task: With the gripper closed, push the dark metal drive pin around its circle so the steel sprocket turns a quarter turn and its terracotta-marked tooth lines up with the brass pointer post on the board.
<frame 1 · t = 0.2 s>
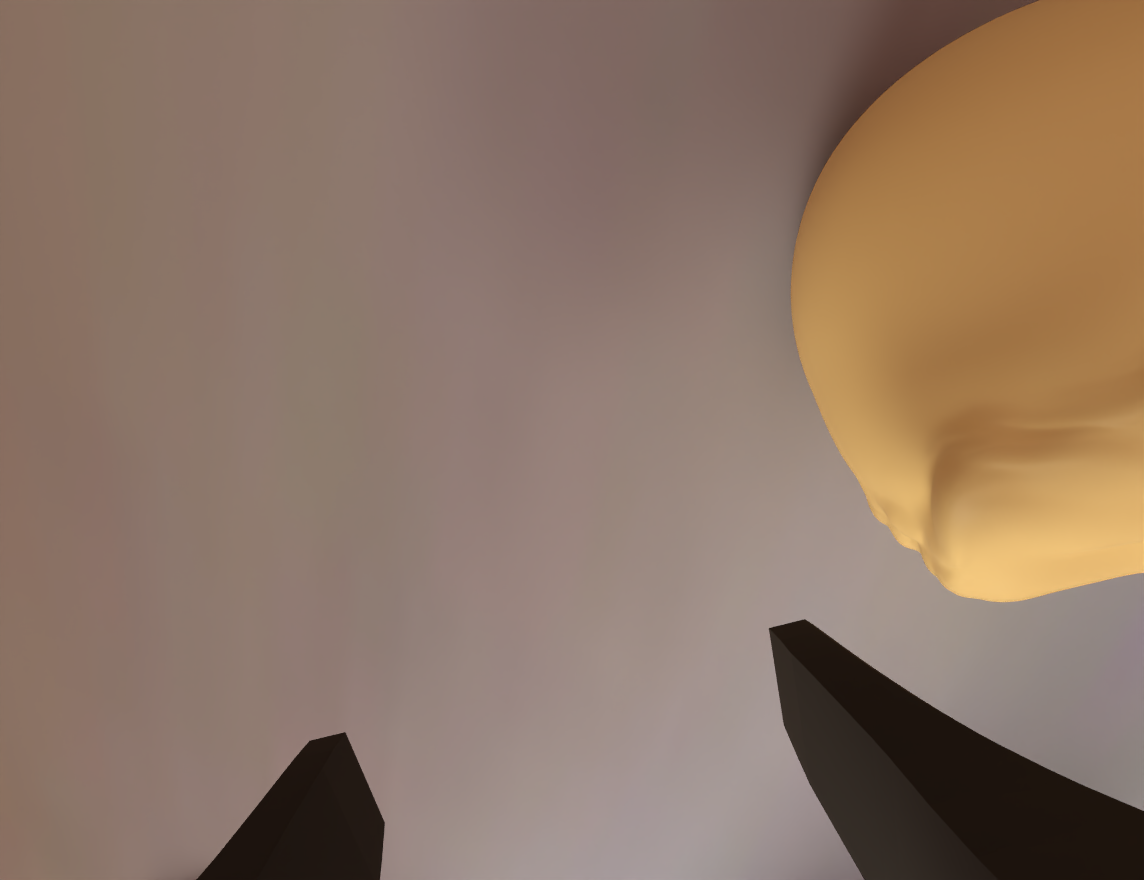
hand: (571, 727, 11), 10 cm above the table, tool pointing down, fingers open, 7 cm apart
sculpture: (937, 274, 20), on the table
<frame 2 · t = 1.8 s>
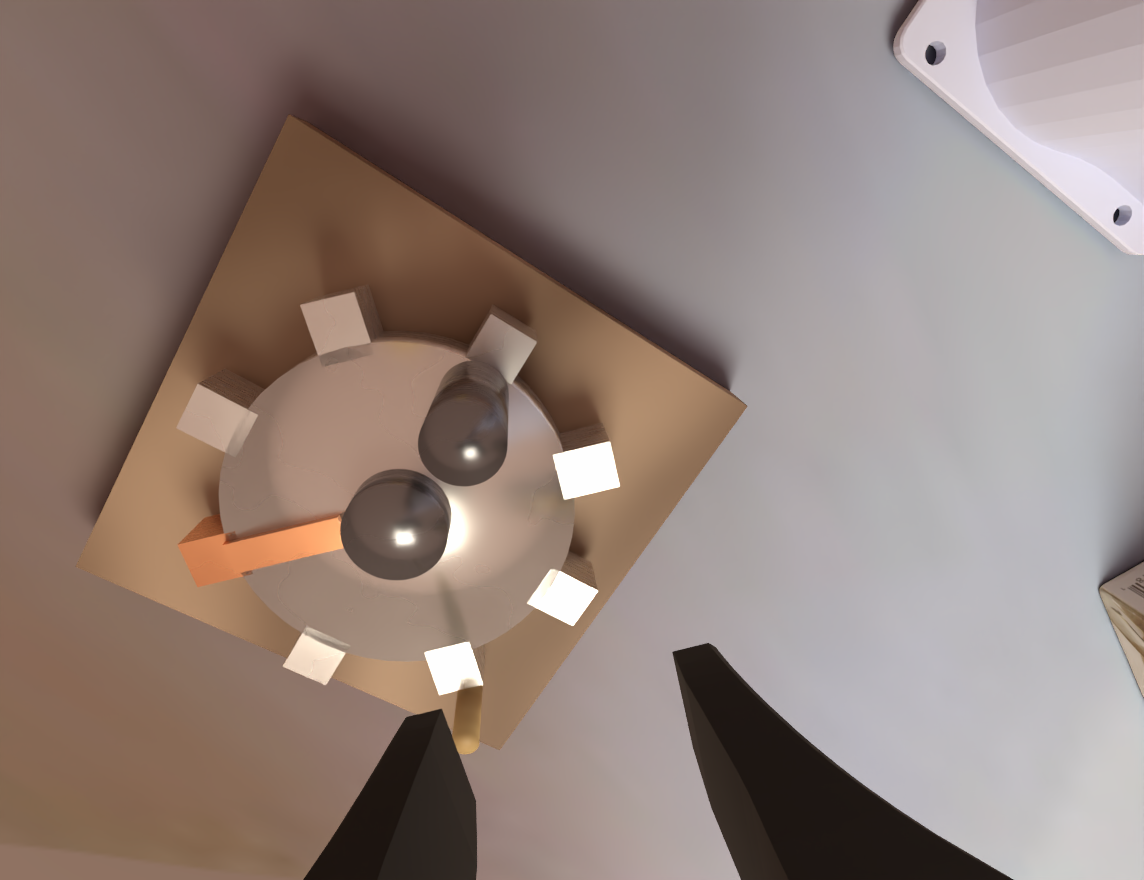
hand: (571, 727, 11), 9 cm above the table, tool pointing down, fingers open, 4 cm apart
sprocket: (394, 534, 15), point 4 cm above the table, hinge at 0.0°
index board: (419, 466, 19), on the table
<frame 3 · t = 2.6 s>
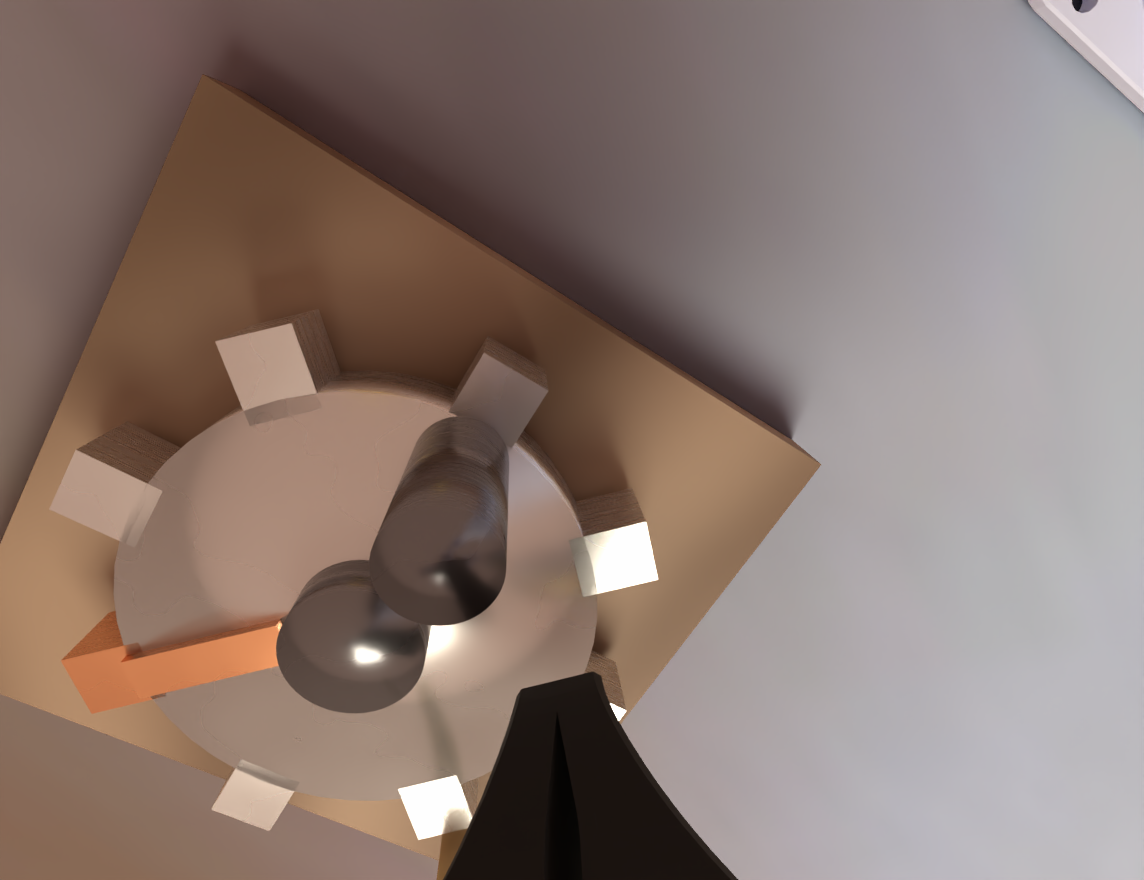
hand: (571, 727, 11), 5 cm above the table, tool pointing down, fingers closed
sprocket: (351, 654, 11), point 4 cm above the table, hinge at 0.0°
index board: (395, 534, 15), on the table
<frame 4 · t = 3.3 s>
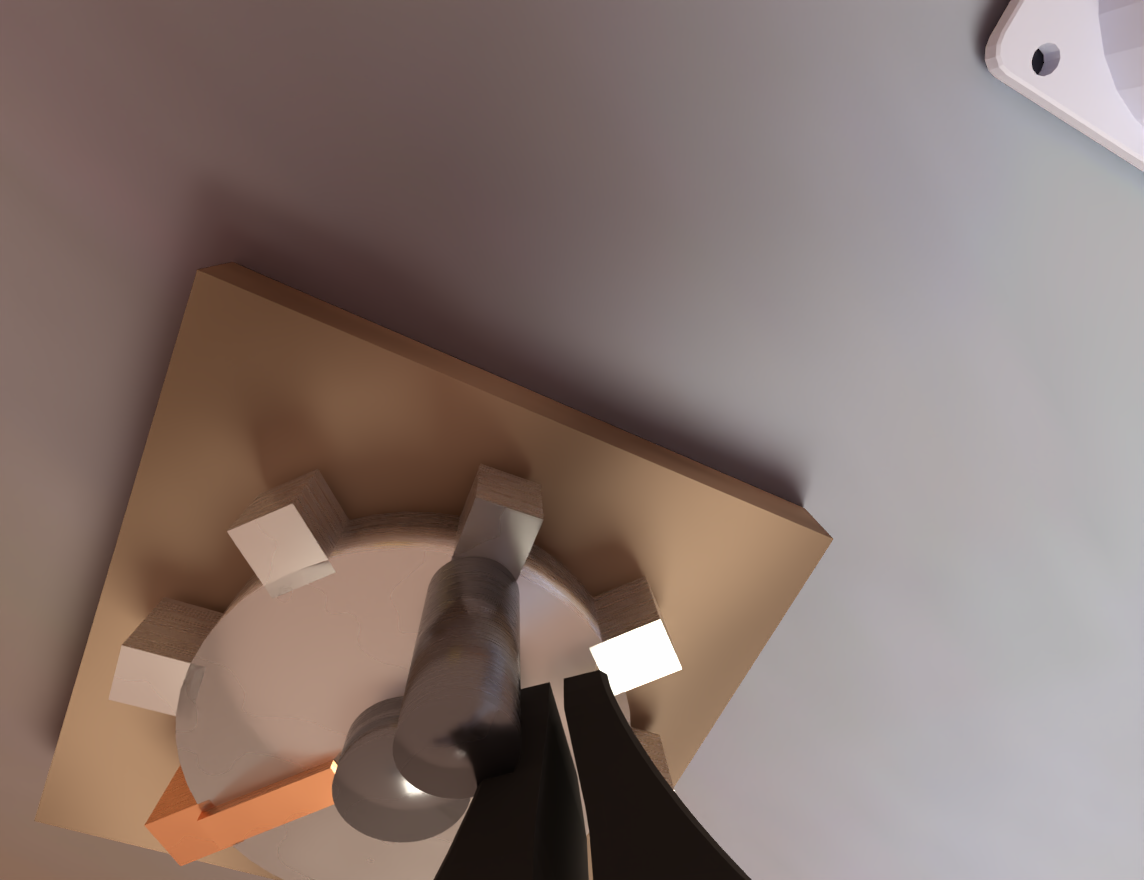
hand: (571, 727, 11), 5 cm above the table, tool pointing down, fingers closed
sprocket: (402, 791, 12), point 4 cm above the table, hinge at 2.9°, touching gripper
index board: (431, 640, 16), on the table
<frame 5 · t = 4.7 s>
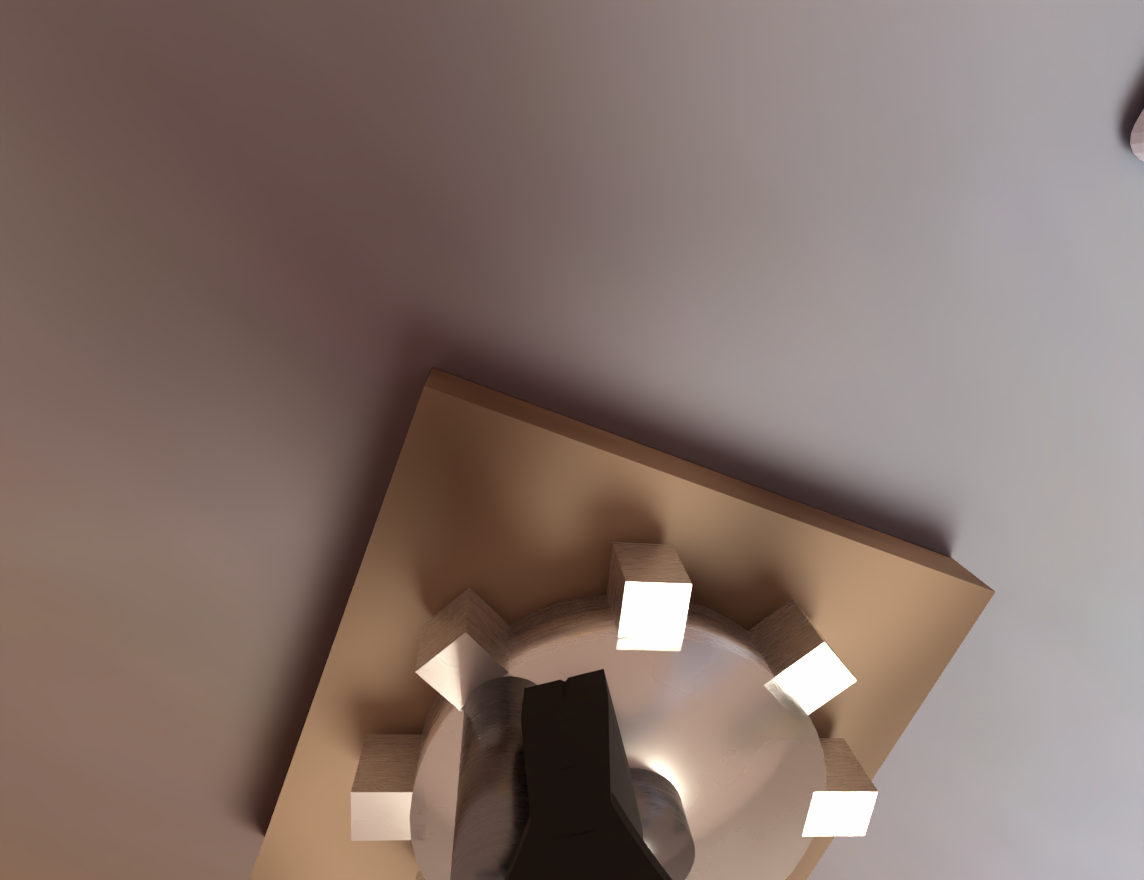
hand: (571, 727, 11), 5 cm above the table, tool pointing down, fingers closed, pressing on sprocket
sprocket: (632, 860, 13), point 4 cm above the table, hinge at 61.9°, touching gripper
index board: (601, 702, 17), on the table
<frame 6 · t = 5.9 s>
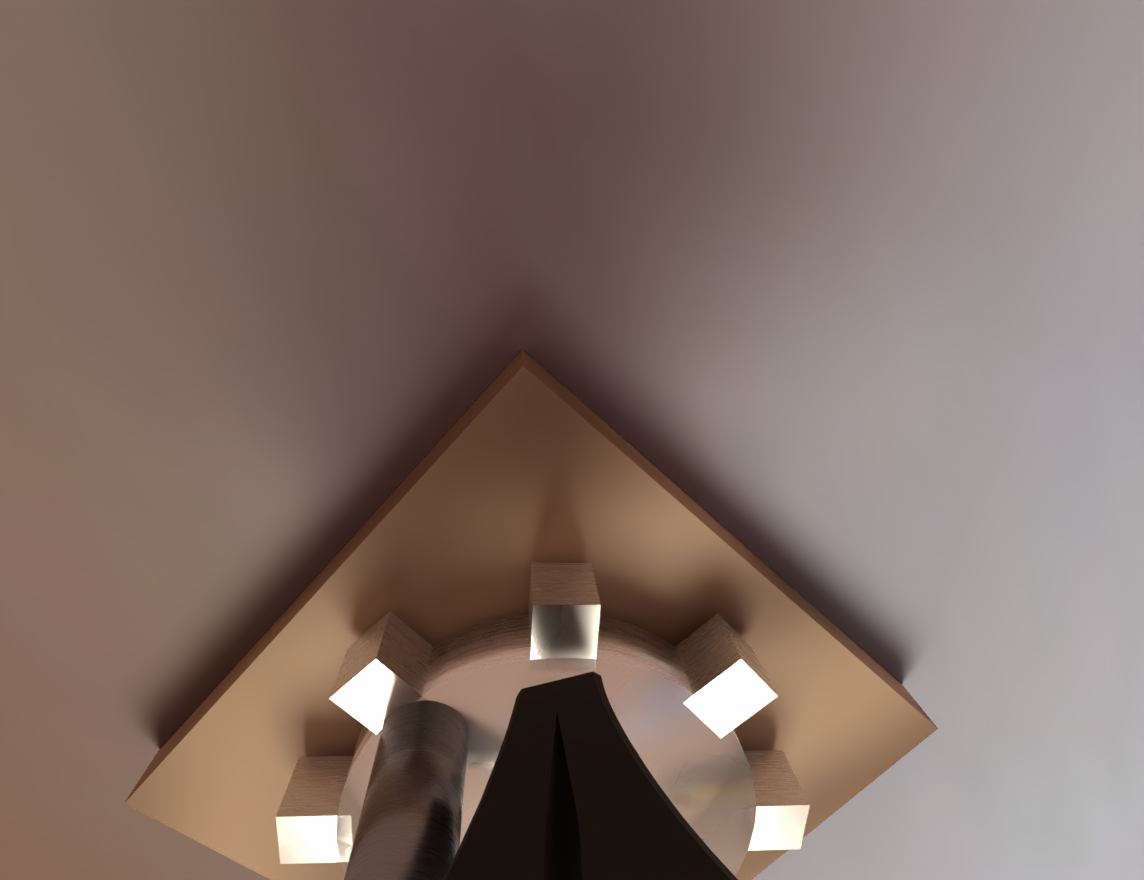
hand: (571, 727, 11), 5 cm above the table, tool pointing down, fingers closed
index board: (544, 717, 17), on the table
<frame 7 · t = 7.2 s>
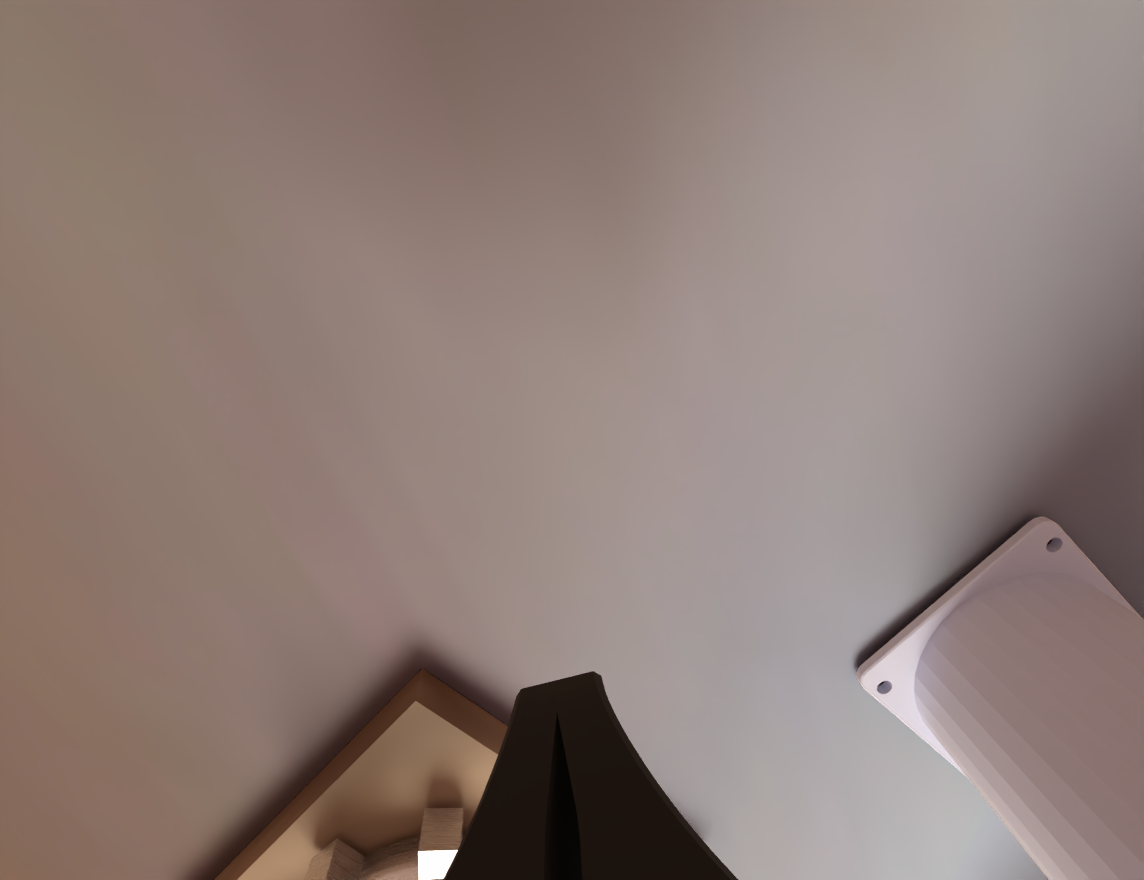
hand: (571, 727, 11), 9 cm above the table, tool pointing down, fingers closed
index board: (449, 879, 25), on the table
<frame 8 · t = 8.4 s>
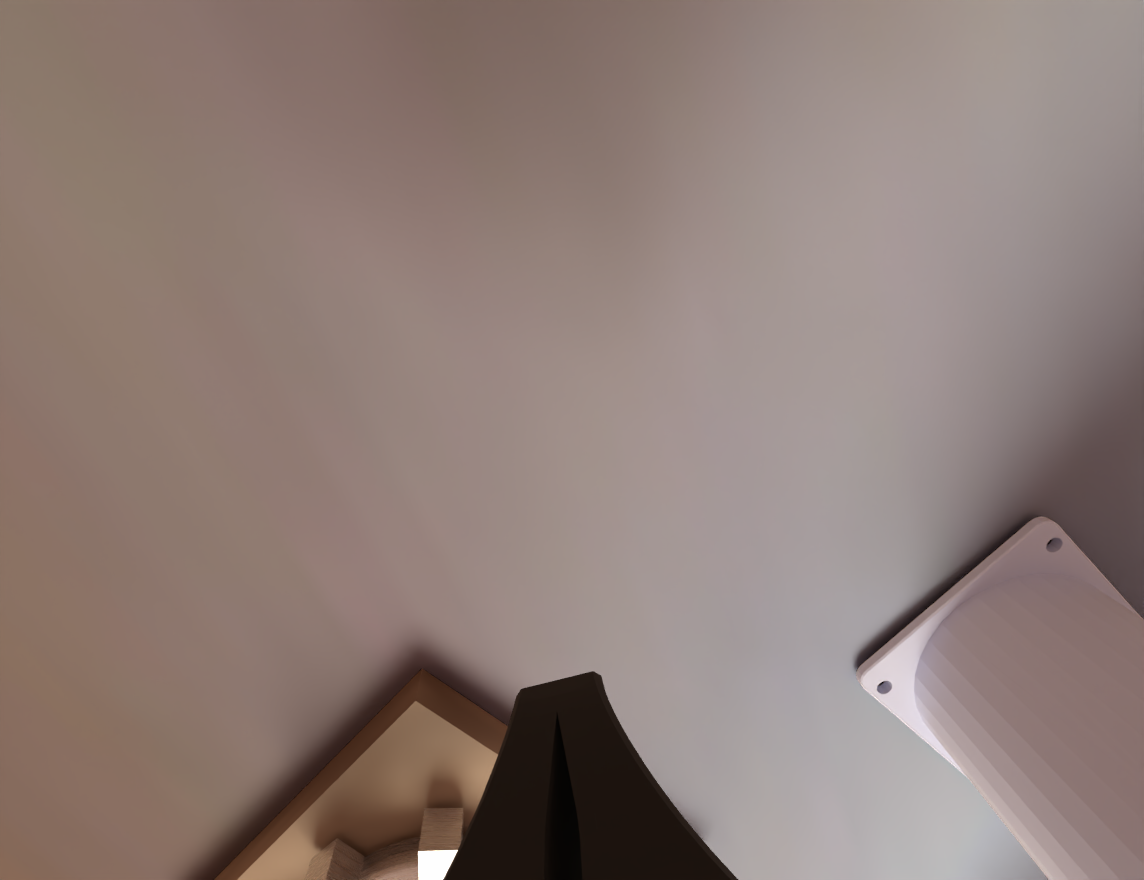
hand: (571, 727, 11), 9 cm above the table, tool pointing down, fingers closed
index board: (449, 879, 25), on the table
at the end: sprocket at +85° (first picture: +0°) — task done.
